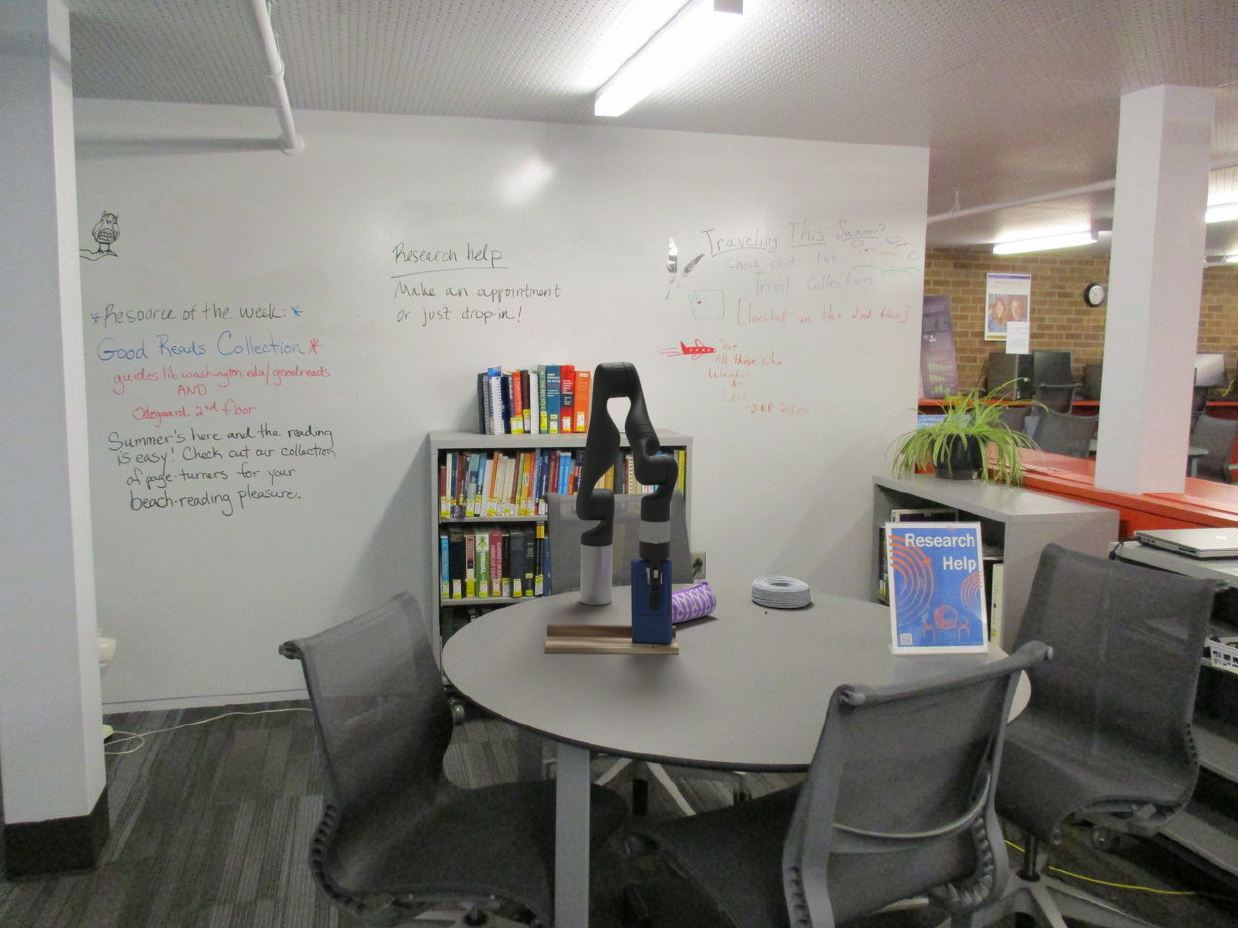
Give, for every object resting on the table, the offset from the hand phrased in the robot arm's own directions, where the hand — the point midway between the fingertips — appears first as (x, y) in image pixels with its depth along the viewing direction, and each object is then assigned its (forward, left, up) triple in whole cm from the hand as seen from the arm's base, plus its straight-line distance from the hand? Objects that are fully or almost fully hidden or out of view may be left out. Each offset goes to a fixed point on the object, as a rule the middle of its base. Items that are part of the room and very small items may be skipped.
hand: (653, 605), depth 212 cm
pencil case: (-24, +9, -11) cm, 28 cm away
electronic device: (0, 0, -9) cm, 9 cm away
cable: (-44, +41, -11) cm, 61 cm away
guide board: (0, -10, -11) cm, 15 cm away
